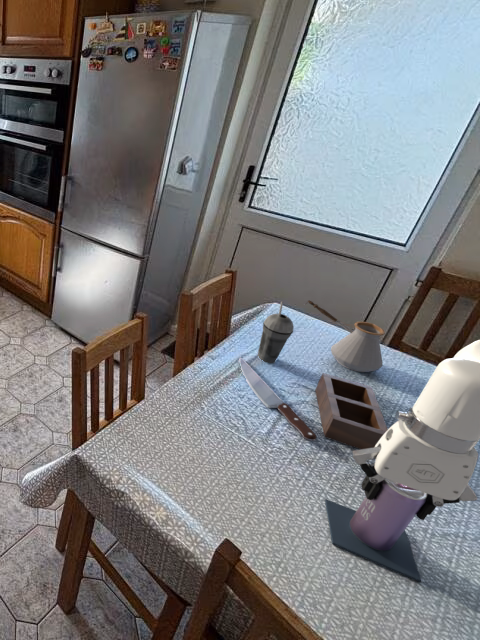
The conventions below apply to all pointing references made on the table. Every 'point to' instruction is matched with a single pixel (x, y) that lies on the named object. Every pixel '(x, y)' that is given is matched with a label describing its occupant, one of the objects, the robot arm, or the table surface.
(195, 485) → the table surface
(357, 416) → the box
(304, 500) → the table surface
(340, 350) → the coffee pot
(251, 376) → the steak knife
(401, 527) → the beverage can
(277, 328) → the beverage cup
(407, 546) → the mat
